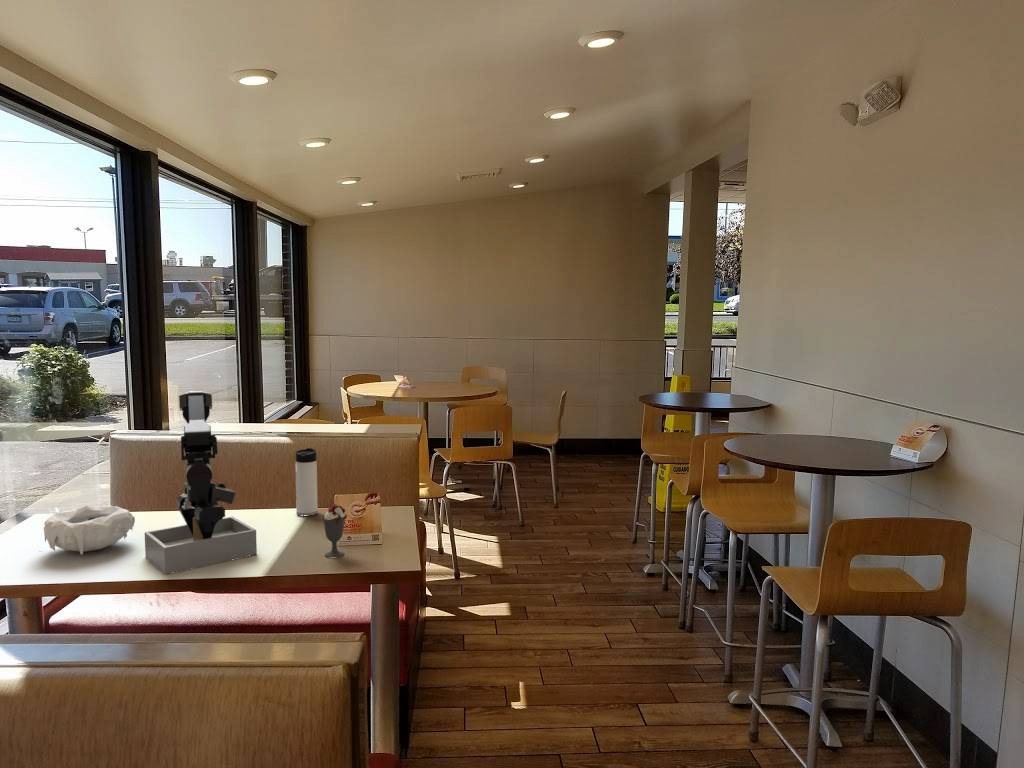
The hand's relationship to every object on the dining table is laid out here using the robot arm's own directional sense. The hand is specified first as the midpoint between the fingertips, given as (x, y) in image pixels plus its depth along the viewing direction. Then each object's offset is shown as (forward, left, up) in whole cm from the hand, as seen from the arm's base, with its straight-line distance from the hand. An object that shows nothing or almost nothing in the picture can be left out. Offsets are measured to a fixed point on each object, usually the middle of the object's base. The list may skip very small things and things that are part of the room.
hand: (201, 539), depth 182 cm
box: (0, 0, -4) cm, 4 cm away
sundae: (+21, +26, -4) cm, 34 cm away
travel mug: (-19, +38, -4) cm, 43 cm away
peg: (0, 0, -4) cm, 4 cm away
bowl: (-24, -20, -4) cm, 32 cm away
